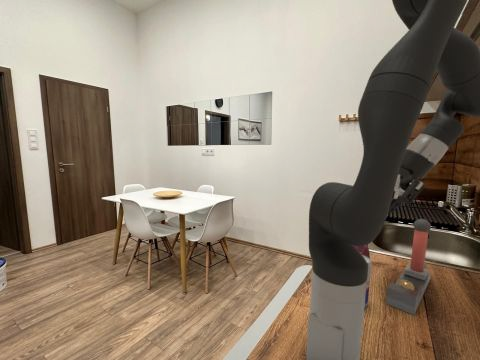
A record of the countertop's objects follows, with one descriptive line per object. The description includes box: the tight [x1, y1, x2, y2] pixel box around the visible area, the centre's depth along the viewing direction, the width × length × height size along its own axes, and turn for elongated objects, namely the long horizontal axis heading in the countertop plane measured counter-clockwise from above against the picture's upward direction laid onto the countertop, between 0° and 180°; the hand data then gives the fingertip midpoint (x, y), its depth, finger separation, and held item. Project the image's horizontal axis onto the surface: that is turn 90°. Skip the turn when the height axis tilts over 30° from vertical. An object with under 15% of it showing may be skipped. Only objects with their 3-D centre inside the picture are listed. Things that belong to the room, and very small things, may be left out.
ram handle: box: [403, 218, 432, 281], centre depth 72 cm, size 5×5×17 cm
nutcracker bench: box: [385, 271, 431, 316], centre depth 68 cm, size 22×6×6 cm, turn 135°
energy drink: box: [362, 255, 373, 309], centre depth 62 cm, size 5×5×12 cm
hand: (377, 205), depth 68 cm, fingers open, 8 cm apart
